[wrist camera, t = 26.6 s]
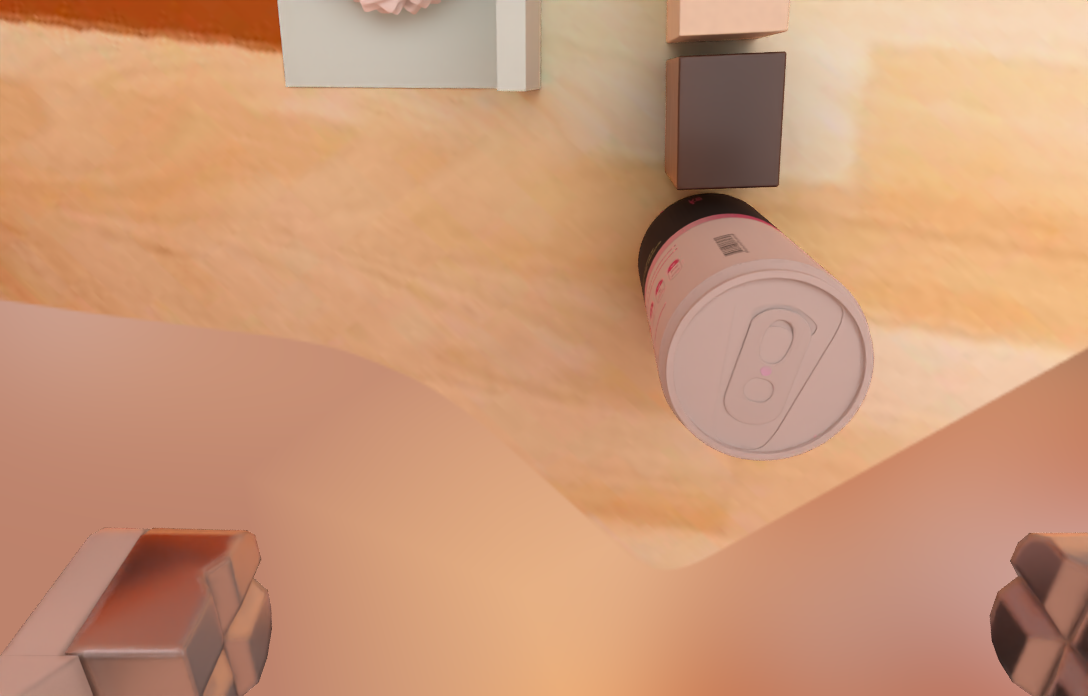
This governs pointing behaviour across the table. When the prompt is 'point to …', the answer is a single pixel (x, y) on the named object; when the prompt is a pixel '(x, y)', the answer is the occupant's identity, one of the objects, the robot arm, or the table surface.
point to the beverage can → (750, 331)
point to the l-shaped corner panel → (412, 43)
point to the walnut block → (724, 120)
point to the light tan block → (725, 19)
